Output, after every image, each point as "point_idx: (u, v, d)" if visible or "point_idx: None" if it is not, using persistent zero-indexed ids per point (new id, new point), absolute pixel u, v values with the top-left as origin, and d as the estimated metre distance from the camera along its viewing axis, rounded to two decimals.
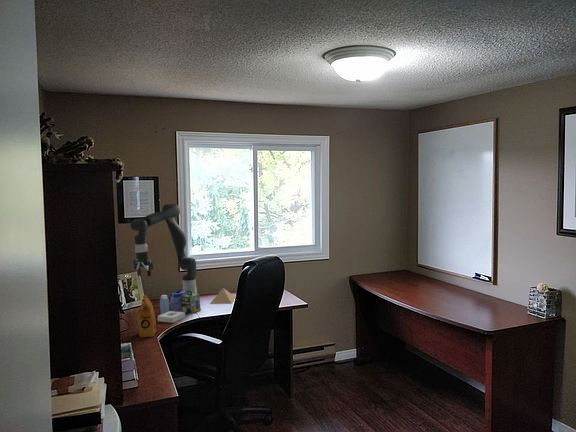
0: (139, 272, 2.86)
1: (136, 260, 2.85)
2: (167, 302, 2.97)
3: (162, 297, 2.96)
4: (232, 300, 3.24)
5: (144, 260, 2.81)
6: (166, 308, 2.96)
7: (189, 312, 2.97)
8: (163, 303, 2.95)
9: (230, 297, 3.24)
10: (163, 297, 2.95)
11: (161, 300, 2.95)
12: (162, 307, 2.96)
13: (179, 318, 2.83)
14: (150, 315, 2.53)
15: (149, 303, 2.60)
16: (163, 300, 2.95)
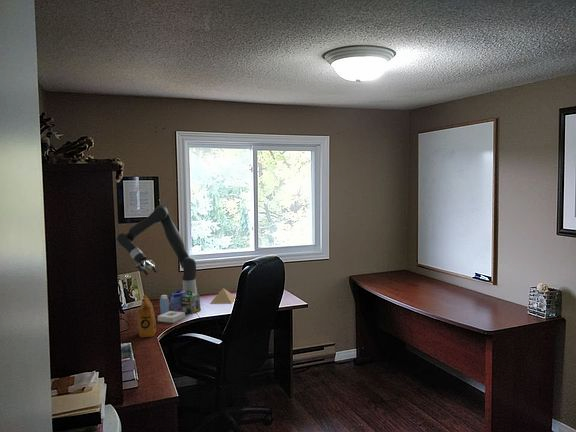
0: (154, 269, 3.09)
1: None
2: (167, 302, 2.97)
3: (162, 297, 2.96)
4: (232, 300, 3.24)
5: None
6: (166, 308, 2.96)
7: (189, 312, 2.97)
8: (163, 303, 2.95)
9: (230, 297, 3.24)
10: (163, 297, 2.95)
11: (161, 300, 2.95)
12: (162, 307, 2.96)
13: (179, 318, 2.83)
14: (150, 315, 2.53)
15: (149, 303, 2.60)
16: (163, 300, 2.95)
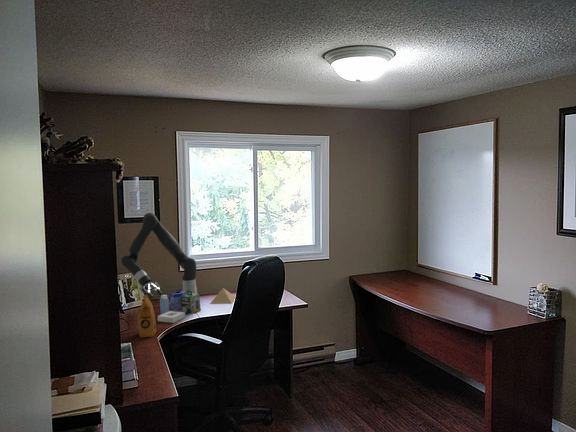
0: (158, 292, 3.03)
1: None
2: (167, 302, 2.97)
3: (162, 297, 2.96)
4: (232, 300, 3.24)
5: None
6: (166, 308, 2.96)
7: (189, 312, 2.97)
8: (163, 303, 2.95)
9: (230, 297, 3.24)
10: (163, 297, 2.95)
11: (161, 300, 2.95)
12: (162, 307, 2.96)
13: (179, 318, 2.83)
14: (150, 315, 2.53)
15: (149, 303, 2.60)
16: (163, 300, 2.95)
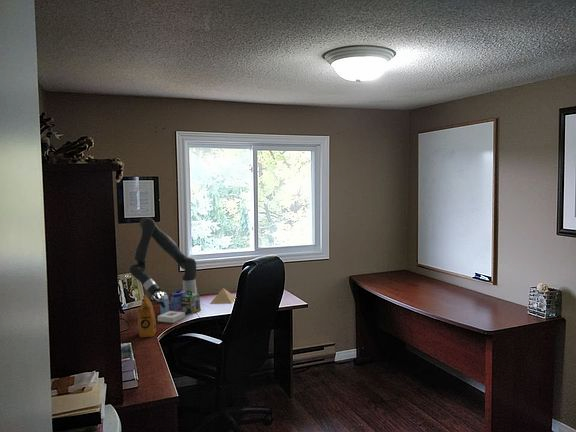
0: None
1: None
2: (167, 302, 2.97)
3: (162, 297, 2.96)
4: (232, 300, 3.24)
5: None
6: (166, 308, 2.96)
7: (189, 312, 2.97)
8: None
9: (230, 297, 3.24)
10: (163, 297, 2.95)
11: None
12: (162, 307, 2.96)
13: (179, 318, 2.83)
14: (150, 315, 2.53)
15: (149, 303, 2.60)
16: (163, 300, 2.95)
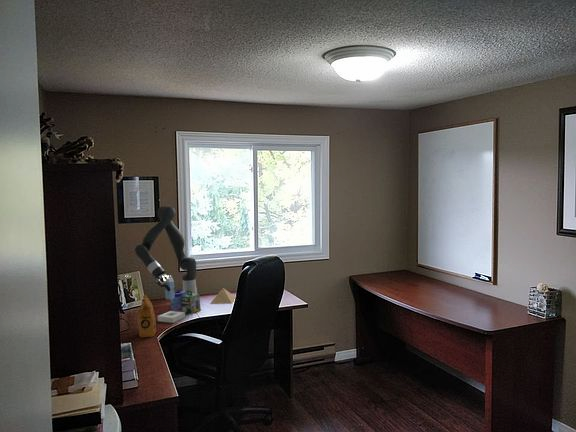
0: None
1: (167, 276, 2.90)
2: (172, 285, 2.84)
3: (167, 280, 2.82)
4: (232, 300, 3.24)
5: None
6: (171, 292, 2.83)
7: (189, 312, 2.97)
8: None
9: (230, 297, 3.25)
10: (168, 280, 2.82)
11: None
12: None
13: (179, 318, 2.83)
14: (150, 315, 2.53)
15: (149, 303, 2.60)
16: (168, 283, 2.81)
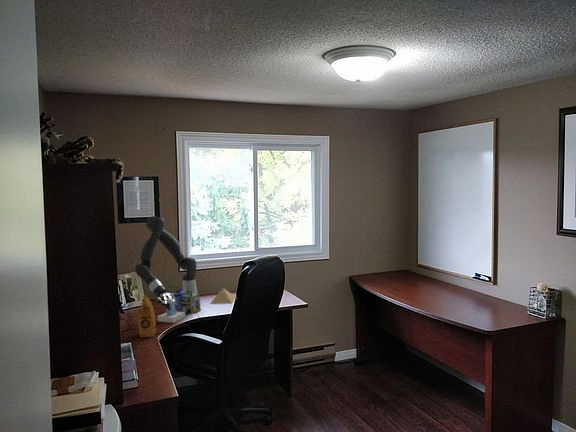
0: None
1: None
2: (173, 306, 2.84)
3: (168, 301, 2.83)
4: (232, 300, 3.24)
5: None
6: (172, 312, 2.83)
7: (189, 312, 2.97)
8: None
9: (230, 297, 3.25)
10: (169, 301, 2.83)
11: None
12: (168, 311, 2.83)
13: (179, 318, 2.83)
14: (150, 315, 2.53)
15: (149, 303, 2.60)
16: (169, 304, 2.82)
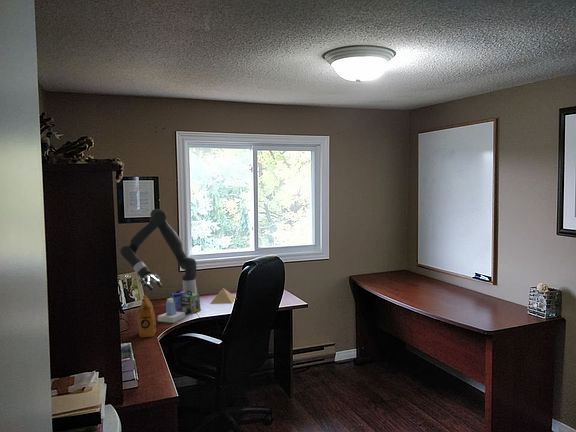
0: (158, 284, 2.94)
1: (152, 275, 2.97)
2: (173, 306, 2.84)
3: (168, 301, 2.83)
4: (232, 300, 3.24)
5: None
6: (172, 312, 2.83)
7: (189, 312, 2.97)
8: (169, 307, 2.82)
9: (230, 297, 3.25)
10: (169, 301, 2.83)
11: (167, 304, 2.83)
12: (168, 311, 2.83)
13: (179, 318, 2.83)
14: (150, 315, 2.53)
15: (149, 303, 2.60)
16: (169, 304, 2.82)
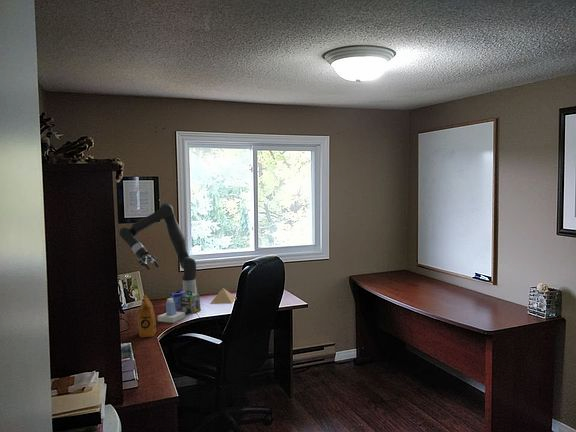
0: (156, 264, 3.05)
1: (150, 256, 3.08)
2: (173, 306, 2.84)
3: (168, 301, 2.83)
4: (232, 300, 3.24)
5: None
6: (172, 312, 2.83)
7: (189, 312, 2.97)
8: (169, 307, 2.82)
9: (230, 297, 3.25)
10: (169, 301, 2.83)
11: (167, 304, 2.83)
12: (168, 311, 2.83)
13: (179, 318, 2.83)
14: (150, 315, 2.53)
15: (149, 303, 2.60)
16: (169, 304, 2.82)
